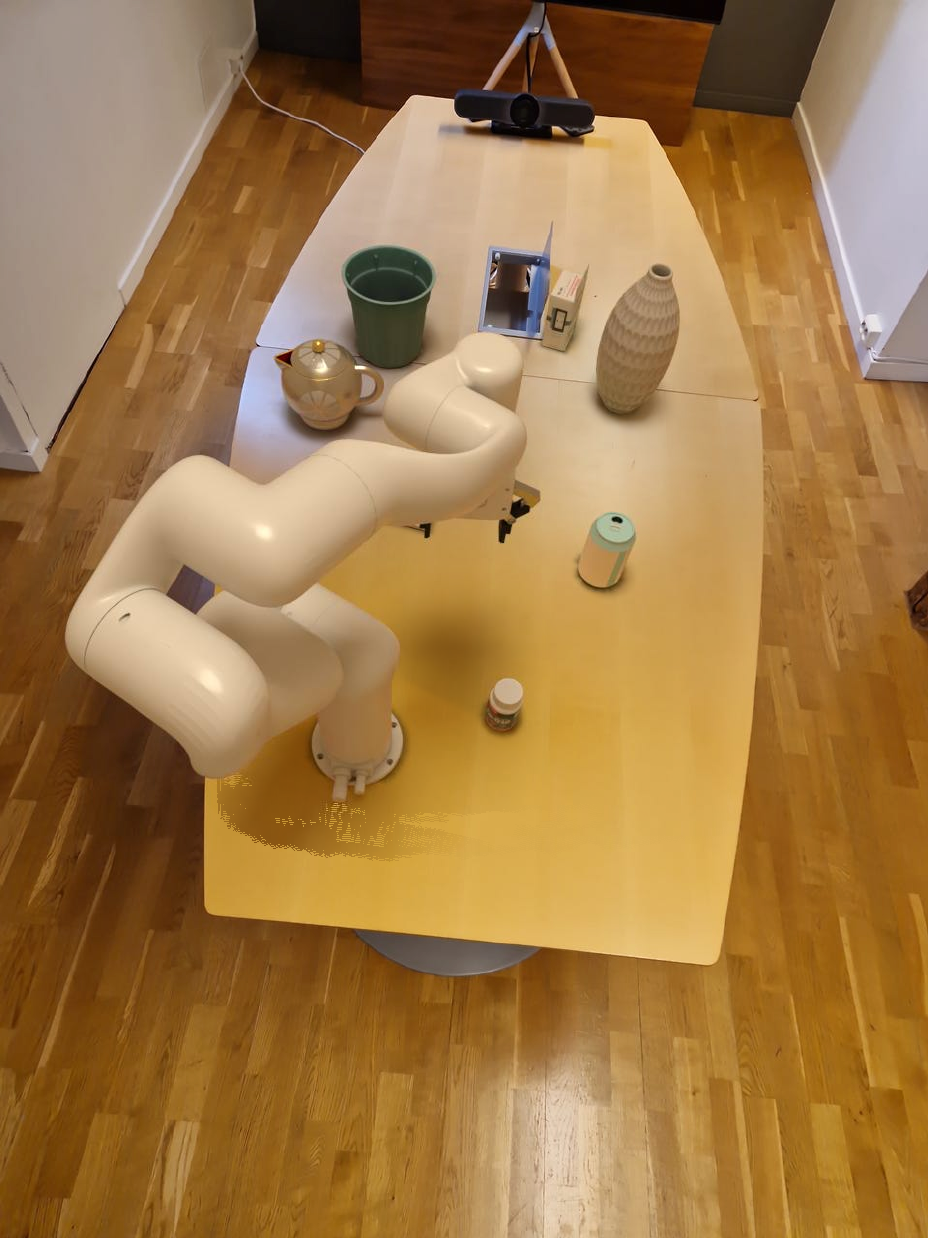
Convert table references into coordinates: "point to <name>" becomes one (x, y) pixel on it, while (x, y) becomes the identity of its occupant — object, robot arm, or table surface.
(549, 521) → the table surface
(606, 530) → the can
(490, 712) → the pill bottle
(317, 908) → the table surface
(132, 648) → the robot arm
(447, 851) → the table surface
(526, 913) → the table surface
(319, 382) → the teapot
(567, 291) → the ink box
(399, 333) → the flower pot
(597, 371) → the vase
